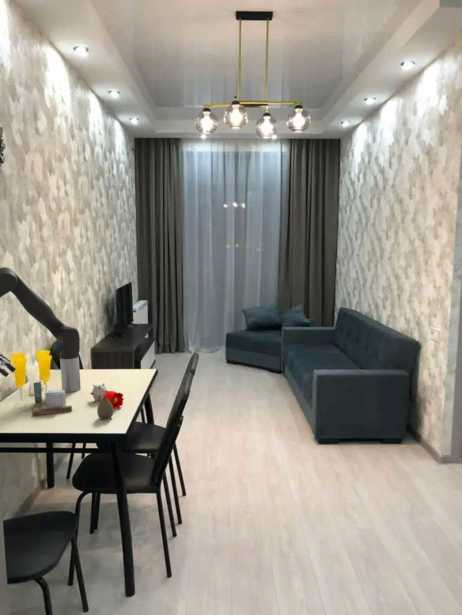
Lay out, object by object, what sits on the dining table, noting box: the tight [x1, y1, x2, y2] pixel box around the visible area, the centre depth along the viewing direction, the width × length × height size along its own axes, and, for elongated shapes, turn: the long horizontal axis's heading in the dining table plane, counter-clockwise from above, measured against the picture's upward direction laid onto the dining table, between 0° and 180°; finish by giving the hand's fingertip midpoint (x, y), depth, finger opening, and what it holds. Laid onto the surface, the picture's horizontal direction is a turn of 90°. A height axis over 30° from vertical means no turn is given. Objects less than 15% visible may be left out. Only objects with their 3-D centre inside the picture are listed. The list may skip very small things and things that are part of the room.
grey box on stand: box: [33, 381, 73, 416], centre depth 233 cm, size 18×17×10 cm
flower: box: [103, 390, 125, 410], centre depth 233 cm, size 8×8×8 cm
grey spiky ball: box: [90, 383, 109, 403], centre depth 242 cm, size 9×8×10 cm
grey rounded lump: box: [96, 398, 115, 421], centre depth 218 cm, size 7×7×9 cm
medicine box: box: [44, 389, 67, 408], centre depth 230 cm, size 8×4×9 cm, turn 89°
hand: (11, 373), depth 236 cm, fingers open, 8 cm apart
